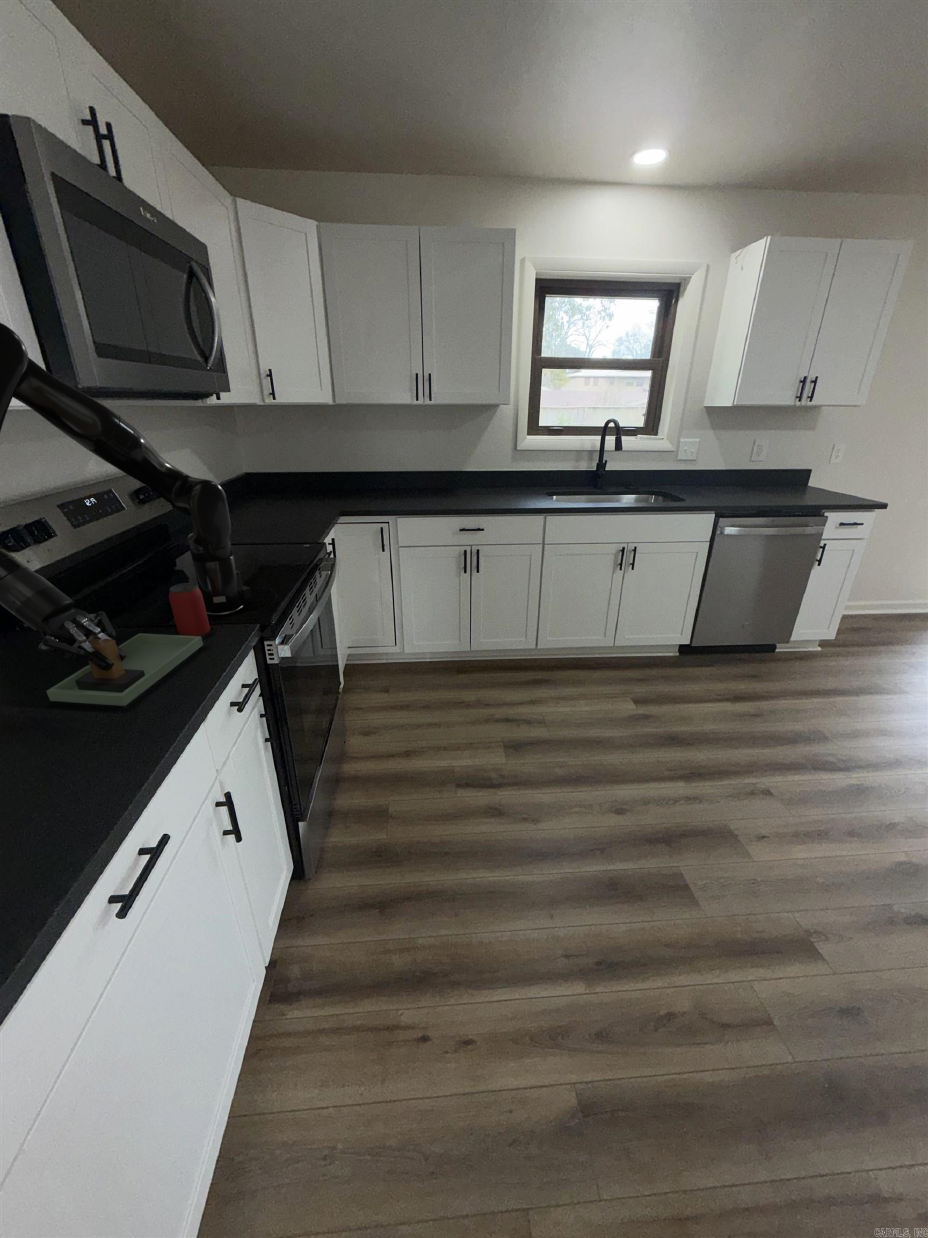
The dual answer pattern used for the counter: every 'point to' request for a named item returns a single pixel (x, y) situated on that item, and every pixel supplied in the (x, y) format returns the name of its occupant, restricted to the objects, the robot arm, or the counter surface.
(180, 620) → the beer can
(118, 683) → the eraser
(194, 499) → the robot arm
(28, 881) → the counter surface
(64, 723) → the counter surface
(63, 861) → the counter surface
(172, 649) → the tray
